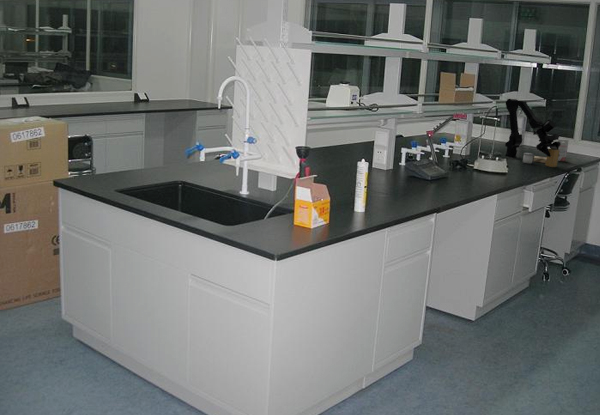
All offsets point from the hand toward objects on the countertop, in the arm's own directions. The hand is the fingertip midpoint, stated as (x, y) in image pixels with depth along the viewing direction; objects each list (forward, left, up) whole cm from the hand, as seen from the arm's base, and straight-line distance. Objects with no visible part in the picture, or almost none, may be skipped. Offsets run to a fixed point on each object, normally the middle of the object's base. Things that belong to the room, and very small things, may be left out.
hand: (554, 156), depth 452 cm
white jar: (-16, +2, -7) cm, 18 cm away
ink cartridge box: (+3, +32, -7) cm, 33 cm away
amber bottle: (-1, +1, -7) cm, 7 cm away
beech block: (-8, +15, -7) cm, 18 cm away
